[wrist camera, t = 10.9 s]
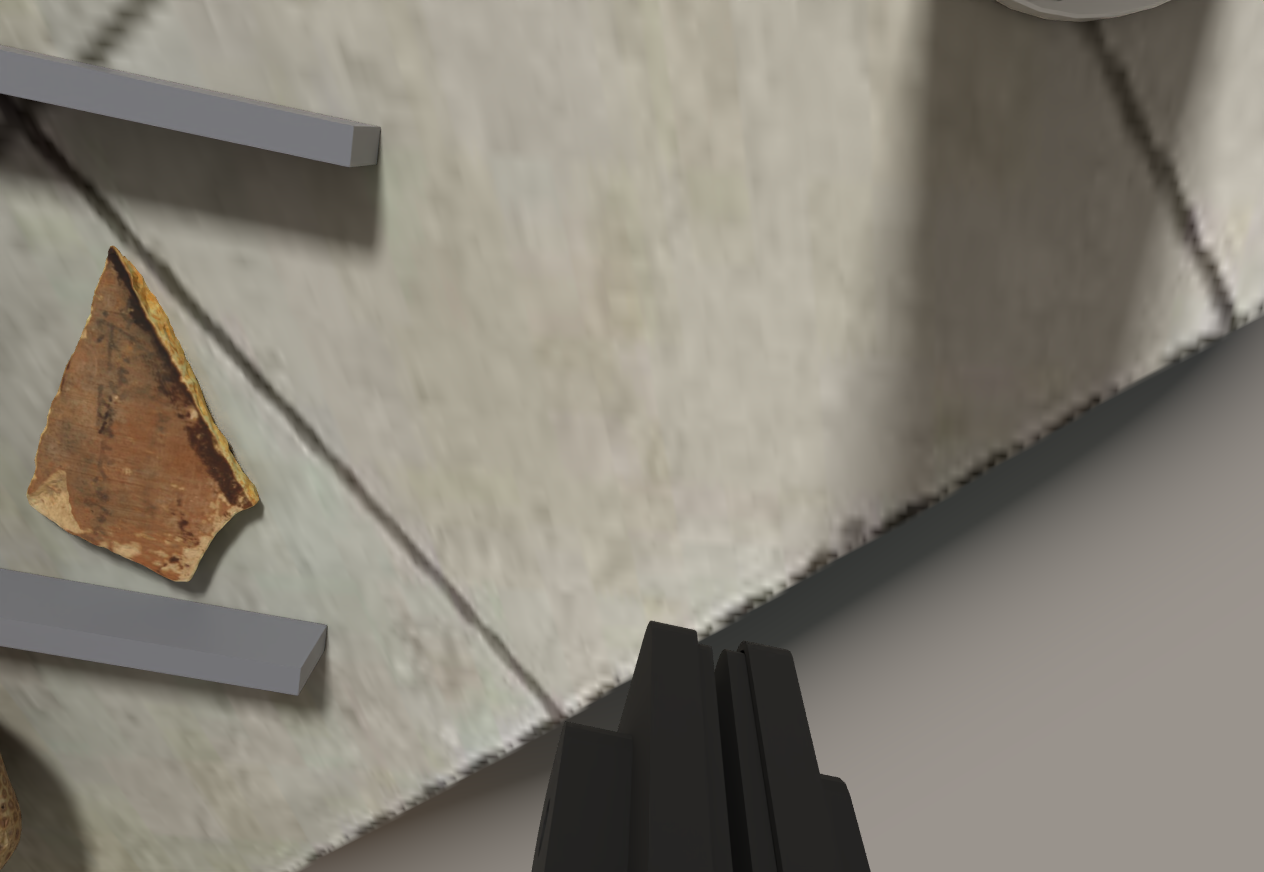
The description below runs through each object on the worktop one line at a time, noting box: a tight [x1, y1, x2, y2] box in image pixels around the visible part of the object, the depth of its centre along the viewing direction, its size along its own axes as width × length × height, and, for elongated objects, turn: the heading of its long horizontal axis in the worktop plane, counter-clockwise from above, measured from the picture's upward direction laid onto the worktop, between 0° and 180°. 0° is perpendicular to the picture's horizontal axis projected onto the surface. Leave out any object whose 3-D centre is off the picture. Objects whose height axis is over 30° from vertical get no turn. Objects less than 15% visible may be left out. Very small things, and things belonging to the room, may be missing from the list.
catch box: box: [0, 45, 381, 695], centre depth 30 cm, size 20×15×3 cm
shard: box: [27, 246, 259, 582], centre depth 32 cm, size 11×8×2 cm
